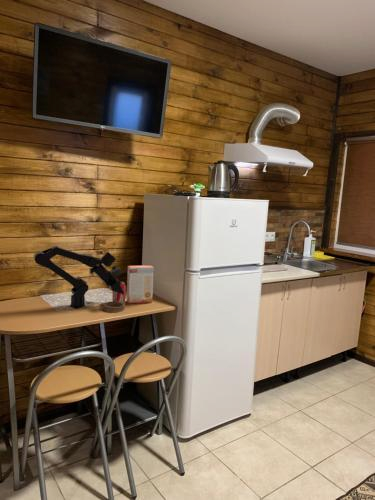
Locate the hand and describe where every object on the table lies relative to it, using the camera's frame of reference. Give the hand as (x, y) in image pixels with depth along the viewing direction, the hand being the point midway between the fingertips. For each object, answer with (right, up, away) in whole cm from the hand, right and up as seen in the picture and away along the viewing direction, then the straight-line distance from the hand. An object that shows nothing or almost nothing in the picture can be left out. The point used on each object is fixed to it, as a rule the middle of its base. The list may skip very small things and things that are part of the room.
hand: (121, 291), depth 214 cm
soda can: (-2, -7, 0) cm, 7 cm away
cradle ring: (-2, -8, -10) cm, 13 cm away
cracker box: (+9, -7, +7) cm, 13 cm away
